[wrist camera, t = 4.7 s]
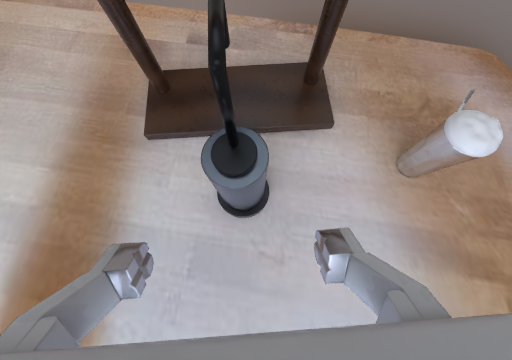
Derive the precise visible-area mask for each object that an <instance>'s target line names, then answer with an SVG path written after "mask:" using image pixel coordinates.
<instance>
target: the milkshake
mask: <svg viewBox="0 0 512 360" xmlns="http://www.w3.org/2000/svg"><path fill="white" fill-rule="evenodd" d="M474 91H475V89H474V90H471V91H470V92H469V94H468V95H467V97H466V98H465V100H464V101H463V103H462V104H461V106H460V107H459V109H458V110H457V111H456V113H454V114H452V115H451V116H449V117H448V118H447V119H446V120H445V121H443V122H442V123H441V124H440V125H438V126H437V127H436V128H435V129H434V130H432V131H431V132H430V133H429V134H428V135H427V136H426V137H425V138H423V139H422V140H421V141H419V142H418V143H417V144H415V145H414V146H413V147H411V148H410V149H409V150H407V151H406V152H405V153H404V154H402V155H401V156H400V157H398V161H397V167H398V168H399V170H400V172H401V173H402V174H404V175H406V176H407V177H419V176H422V175H426V174H429V173H432V172H435V171H438V170H441V169H444V168H447V167H451V166H454V165H457V164H460V163H464V162H467V161H470V160H474V159H477V158H481V157H484V156H487V155H490V154H492V153H493V152H495V151H496V150H497V149H498V147H499V145H500V143H501V141H502V139H503V131H502V129H501V127H500V123H499V121H498V119H496V118H495V117H492V116H489V115H487V114H485V113H483V112H481V111H477V110H463V111H461V110H462V108H463V107H464V105H465V104H466V103H467V101H468V100H469V98H470V97H471V95H472V94H473V93H474Z"/></svg>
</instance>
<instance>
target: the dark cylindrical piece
mask: <svg viewBox="0 0 512 360" xmlns="http://www.w3.org/2000/svg"><path fill="white" fill-rule="evenodd" d="M229 44H230V40H229V33H228V25H227V17H226V10H225V2H224V0H208V67H209V72H210V75H211V79H212V83H213V86H214V90H215V94H216V98H217V101H218V105H219V109H220V113H221V116H222V120H223V124H224V127H225V128H223V129H220V130H218V131H217V132H215V133H214V134H213V135H211V136H210V137H209V139H208V140H207V141H206V143H205V145H204V147H203V149H202V153H201V164H202V167H203V170H204V172H205V174H206V175H207V177H208V178H209V180H210V181H211V182H212V184H213V185H214V187H215V188H216V189H217V195H218V200H219V202H220V204H221V206H222V207H223V208H224V209H225V211H226V212H228V213H229V214H231V215H233V216H235V217H239V218H247V217H251V216H254V215H256V214H257V213H259V212H260V211H261V210H262V209H263V208H264V207H265V205H266V203H267V200H268V196H269V186H268V183H267V180H266V174H267V167H268V160H269V153H268V148H267V145H266V143H265V142H264V140H263V139H262V137H261V136H260V135H259V134H257V133H256V132H255V131H253V130H251V129H249V128H246V127H241V126H236V123H235V117H234V111H233V105H232V99H231V93H230V87H229V81H228V75H227V69H226V52H225V49H226V48H228V47H229Z"/></svg>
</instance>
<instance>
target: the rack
mask: <svg viewBox="0 0 512 360" xmlns="http://www.w3.org/2000/svg"><path fill="white" fill-rule="evenodd" d="M97 1H98V2H99V4H100V5H101V7H102V8H103V10H104V11H105V13H106V15H107V16H108V18H109V19H110V21H111V22H112V24H113V25H114V27H115V28H116V30H117V32H118V33H119V35H120V36H121V38H122V39H123V41H124V42H125V44H126V45H127V47H128V49H129V50H130V52H131V53H132V55H133V56H134V58H135V59H136V61H137V62H138V64H139V65H140V67H141V69H142V70H143V72H144V73H145V75H146V76H147V78H148V79H149V87H148V97H147V108H146V118H145V128H144V136H145V137H146V138H147V139H148V140H151V139H167V138H183V137H199V136H211V135H213V134H214V133H215V132H217V131H218V130H220V129H223V128H225V127H224V124H223V120H222V116H221V113H220V109H219V105H218V101H217V98H216V94H215V90H214V86H213V83H212V79H211V75H210V72H209V68H197V69H179V70H162V69H161V67H160V65H159V64H158V62H157V60H156V58H155V56H154V54H153V52H152V51H151V49H150V47H149V45H148V43H147V41H146V39H145V38H144V36H143V34H142V32H141V30H140V28H139V26H138V24H137V23H136V21H135V19H134V17H133V15H132V13H131V11H130V10H129V8H128V6H127V4H126V2H125V0H97ZM347 3H348V0H325V4H324V7H323V11H322V15H321V18H320V22H319V25H318V28H317V32H316V36H315V39H314V43H313V46H312V50H311V53H310V57H309V60H308V62H303V63H285V64H268V65H250V66H232V67H226V69H227V75H228V81H229V87H230V93H231V99H232V105H233V111H234V117H235V123H236V126H241V127H246V128H249V129H251V130H253V131H255V132H256V133H263V132H278V131H294V130H310V129H326V128H332V126H333V125H334V120H333V115H332V110H331V105H330V100H329V95H328V90H327V85H326V81H325V76H324V71H323V66H324V64H325V61H326V59H327V56H328V53H329V51H330V48H331V45H332V43H333V40H334V37H335V35H336V32H337V29H338V26H339V23H340V21H341V18H342V16H343V13H344V10H345V8H346V5H347Z"/></svg>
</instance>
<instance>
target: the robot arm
mask: <svg viewBox="0 0 512 360" xmlns="http://www.w3.org/2000/svg"><path fill="white" fill-rule="evenodd" d="M315 237H316V239H317V241H316V243H315V245H314V252H315V257H316V261H317V263H318V264H319V265H320V266H321V271H320V272H321V274H322V277H323V279H324V282H325V284H332V283H344V285H346V286H347V287H348V288H349V289H350V290H351V291H352V292H353V293H354V294H355V295H356V296H357V297H358V298H359V299H361V300H362V301H363V302H364V303H365V304H366V305H367V306H368V307H369V308H370V309H371V310H372V311H373V312H374V313H375V314H377V315H378V319H377V322H376V324H370V325H357V326H345V327H332V328H319V329H307V330H294V331H282V332H269V333H257V334H244V335H231V336H219V337H206V338H193V339H181V340H168V341H155V342H143V343H130V344H117V345H105V346H92V347H82V346H81V345H80V343H79V342H80V341H81V340H82V339H83V338H84V337H85V336H86V335H87V334H88V333H89V332H90V331H91V330H92V329H93V328H94V327H95V326H96V325H97V324H98V323H99V322H100V321H101V320H102V319H103V318H104V317H105V316H106V315H107V314H108V313H109V312H110V311H111V310H112V309H113V308H114V307H115V306H116V305H117V304H118V303H119V302H120V301H121V300H122V299H132V298H140V297H141V295H142V292H143V290H144V288H145V286H146V282H145V280H146V279H147V278H148V277H149V276H150V275H151V273H152V270H153V265H154V262H153V257H152V255H151V254H150V253H148V252H147V251H148V249H149V247H148V245H147V243H145V242H141V243H123V244H112V245H110V246H109V247H108V248H107V250H106V251H105V252H104V254H103V255H102V256H101V258H100V259H99V260H98V261H97V263H96V264H95V265H94V267H93V268H92V269H91V271H90V272H89V273H85V274H83V275H82V276H80V277H79V278H77V279H75V280H74V281H72V282H71V283H69V284H68V285H66V286H65V287H63V288H62V289H60V290H59V291H57V292H55V293H54V294H52V295H51V296H49V297H48V298H46V299H45V300H43V301H42V302H40V303H39V304H37V305H35V306H34V307H32V308H31V309H29V310H28V311H26V312H25V313H23V314H22V315H20V316H18V317H17V318H16V319H15V320H14V321H13V322H12V323H11V324H10V326H9V327H8V328H7V329H6V330H5V331H4V332H3V333H2V334H1V335H0V360H512V313H509V314H496V315H484V316H471V317H459V318H452V317H451V316H450V315H449V314H448V313H447V311H446V310H445V309H444V308H443V307H442V305H441V304H440V303H439V302H438V301H437V299H436V298H435V297H434V296H433V295H432V293H431V292H430V291H429V290H428V288H427V287H425V286H424V285H422V284H420V283H419V282H417V281H415V280H414V279H412V278H410V277H409V276H407V275H405V274H404V273H402V272H400V271H399V270H397V269H395V268H394V267H392V266H390V265H389V264H387V263H385V262H384V261H382V260H380V259H379V258H377V257H375V256H374V255H372V254H370V253H366V252H365V251H364V249H363V248H362V246H361V245H360V243H359V242H358V240H357V239H356V237H355V236H354V234H353V233H352V231H351V230H350V229H349V228H338V229H326V230H317V231H316V235H315Z"/></svg>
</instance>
